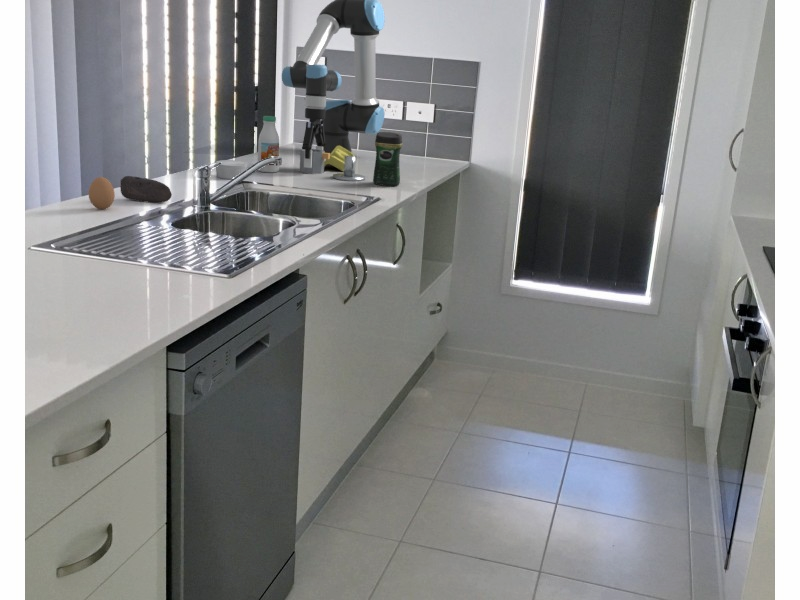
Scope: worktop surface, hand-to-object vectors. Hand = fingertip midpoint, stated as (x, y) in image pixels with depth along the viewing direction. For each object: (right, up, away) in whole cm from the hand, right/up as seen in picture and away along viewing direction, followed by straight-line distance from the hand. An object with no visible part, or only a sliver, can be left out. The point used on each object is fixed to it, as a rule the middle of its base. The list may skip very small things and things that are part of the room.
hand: (313, 165), depth 319 cm
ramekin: (-27, -8, -22) cm, 35 cm away
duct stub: (+14, -6, -6) cm, 16 cm away
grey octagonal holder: (0, -2, +1) cm, 3 cm away
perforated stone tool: (-42, -22, -70) cm, 84 cm away
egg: (-50, -25, -84) cm, 101 cm away
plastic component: (+8, +1, +16) cm, 18 cm away
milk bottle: (-16, -3, -4) cm, 17 cm away
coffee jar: (+27, -9, -12) cm, 31 cm away
